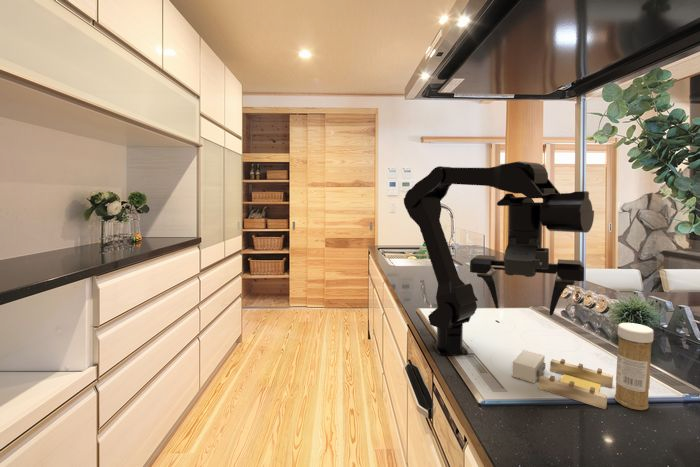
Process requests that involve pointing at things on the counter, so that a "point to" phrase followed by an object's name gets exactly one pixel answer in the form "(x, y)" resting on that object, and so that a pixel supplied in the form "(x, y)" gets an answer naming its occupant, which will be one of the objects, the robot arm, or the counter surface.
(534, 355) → the block
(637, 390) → the sprinkles bottle
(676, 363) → the counter surface
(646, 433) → the counter surface
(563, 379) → the band
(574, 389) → the guide channel
